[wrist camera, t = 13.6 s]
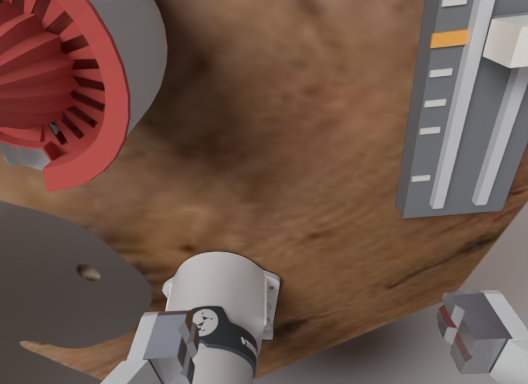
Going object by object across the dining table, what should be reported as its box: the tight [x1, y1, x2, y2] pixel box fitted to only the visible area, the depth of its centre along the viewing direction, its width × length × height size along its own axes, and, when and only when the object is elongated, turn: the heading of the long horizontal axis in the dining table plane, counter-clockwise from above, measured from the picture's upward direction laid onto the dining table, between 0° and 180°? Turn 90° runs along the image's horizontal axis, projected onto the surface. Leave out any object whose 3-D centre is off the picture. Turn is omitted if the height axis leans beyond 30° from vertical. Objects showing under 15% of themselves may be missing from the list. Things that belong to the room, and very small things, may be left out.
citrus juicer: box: [0, 0, 168, 192], centre depth 25 cm, size 16×17×20 cm
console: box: [396, 0, 528, 219], centre depth 34 cm, size 30×12×4 cm, turn 6°
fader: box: [482, 12, 528, 68], centre depth 28 cm, size 3×4×5 cm
